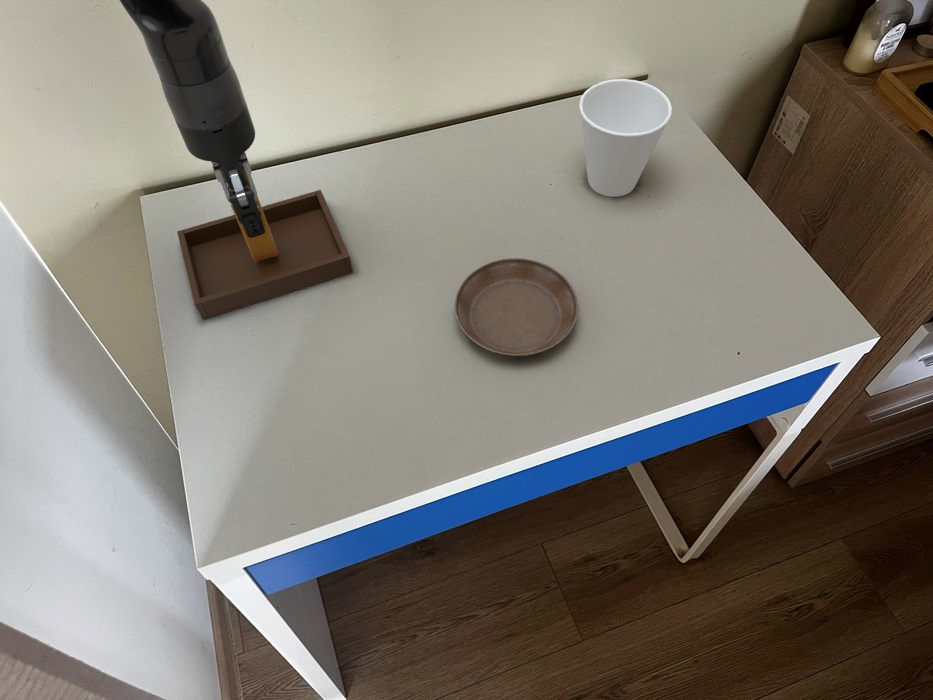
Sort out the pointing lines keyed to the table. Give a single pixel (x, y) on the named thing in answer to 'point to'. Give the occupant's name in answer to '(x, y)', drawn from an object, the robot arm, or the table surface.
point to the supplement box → (259, 238)
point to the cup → (621, 132)
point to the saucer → (516, 307)
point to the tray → (248, 282)
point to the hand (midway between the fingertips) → (253, 223)
